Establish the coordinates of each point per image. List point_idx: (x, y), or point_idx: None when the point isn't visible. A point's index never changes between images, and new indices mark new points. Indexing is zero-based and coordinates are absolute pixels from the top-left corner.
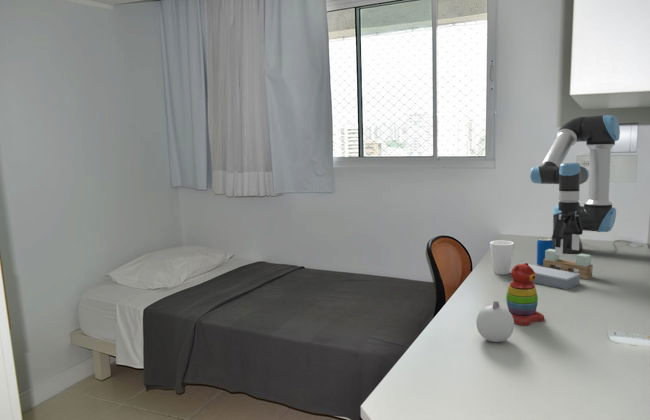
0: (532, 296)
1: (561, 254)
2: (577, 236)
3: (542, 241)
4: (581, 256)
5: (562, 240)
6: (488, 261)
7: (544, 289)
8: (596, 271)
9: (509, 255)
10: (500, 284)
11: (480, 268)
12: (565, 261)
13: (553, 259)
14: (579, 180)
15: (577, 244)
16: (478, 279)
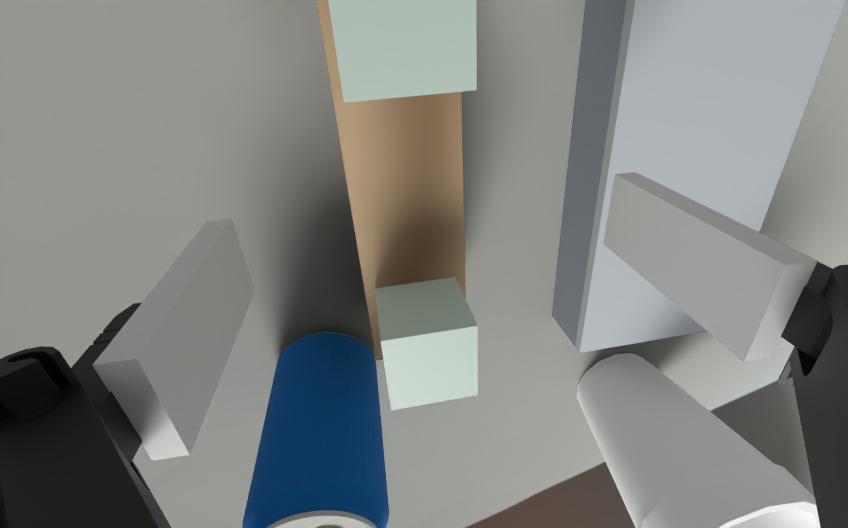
0: None
1: (641, 178)
2: (163, 353)
3: (380, 522)
4: (473, 8)
5: (786, 254)
6: (471, 514)
7: (841, 36)
8: (119, 41)
9: (711, 430)
10: (819, 258)
11: (600, 459)
12: (399, 217)
13: (457, 289)
14: None
15: (211, 266)
16: (773, 359)
